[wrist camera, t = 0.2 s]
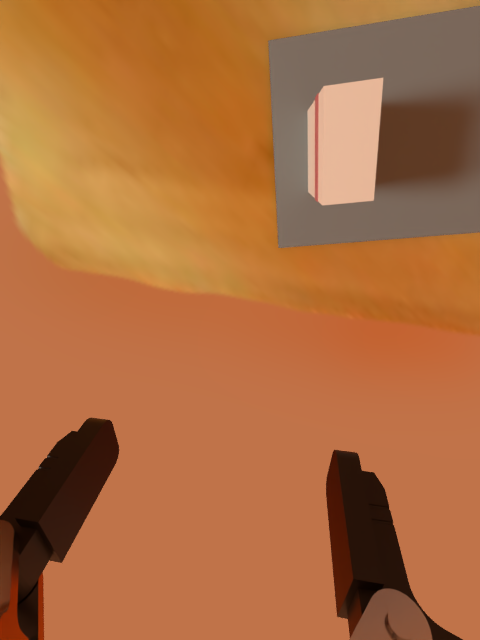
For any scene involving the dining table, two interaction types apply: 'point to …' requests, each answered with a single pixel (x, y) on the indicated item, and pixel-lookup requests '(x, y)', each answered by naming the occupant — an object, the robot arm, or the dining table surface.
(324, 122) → the card box
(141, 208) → the dining table surface
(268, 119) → the dining table surface
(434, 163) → the mat
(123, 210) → the dining table surface
